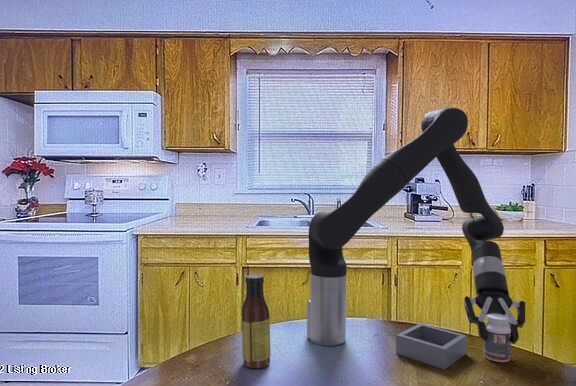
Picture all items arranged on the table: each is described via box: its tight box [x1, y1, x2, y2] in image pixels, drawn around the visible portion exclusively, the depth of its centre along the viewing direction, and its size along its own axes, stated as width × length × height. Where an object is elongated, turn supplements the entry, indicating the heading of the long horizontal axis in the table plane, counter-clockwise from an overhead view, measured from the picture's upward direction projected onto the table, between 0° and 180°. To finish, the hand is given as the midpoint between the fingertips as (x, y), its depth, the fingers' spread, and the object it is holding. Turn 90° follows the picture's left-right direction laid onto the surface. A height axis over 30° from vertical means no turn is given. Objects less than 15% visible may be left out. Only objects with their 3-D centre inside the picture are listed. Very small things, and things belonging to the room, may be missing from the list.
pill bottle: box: [483, 313, 512, 363], centre depth 100 cm, size 6×6×10 cm
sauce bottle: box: [241, 273, 272, 370], centre depth 95 cm, size 7×6×20 cm
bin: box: [395, 322, 468, 370], centre depth 102 cm, size 12×12×4 cm
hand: (499, 340), depth 99 cm, fingers closed on pill bottle, 5 cm apart
